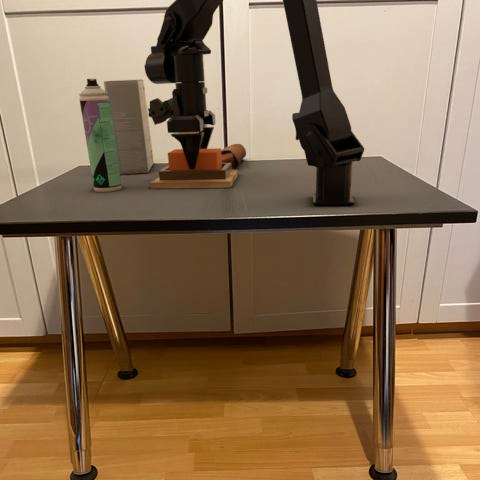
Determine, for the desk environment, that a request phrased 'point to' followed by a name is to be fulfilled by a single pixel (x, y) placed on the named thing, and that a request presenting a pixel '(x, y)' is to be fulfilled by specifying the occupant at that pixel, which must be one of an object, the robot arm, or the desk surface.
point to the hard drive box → (130, 125)
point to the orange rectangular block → (205, 161)
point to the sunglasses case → (233, 155)
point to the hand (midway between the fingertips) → (196, 166)
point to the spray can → (100, 137)
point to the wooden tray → (196, 178)
